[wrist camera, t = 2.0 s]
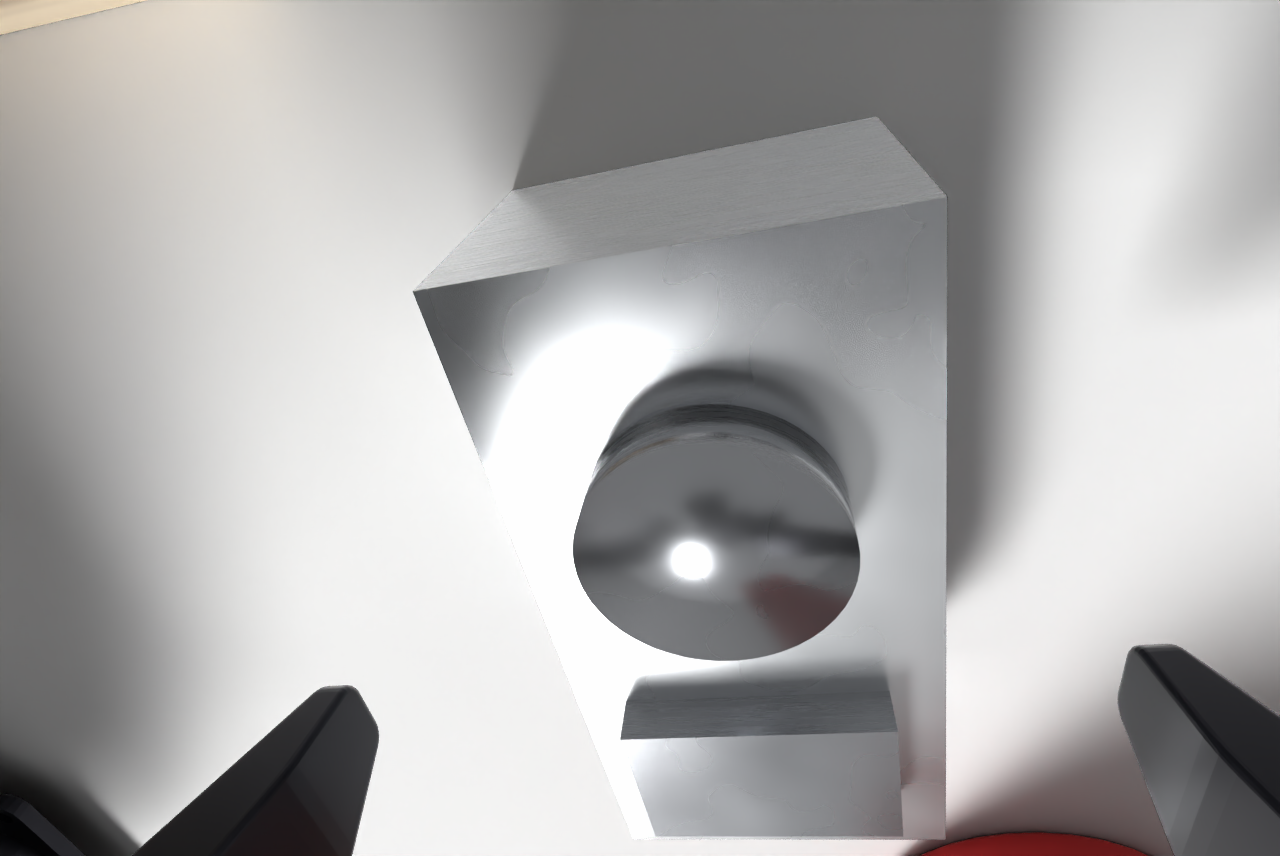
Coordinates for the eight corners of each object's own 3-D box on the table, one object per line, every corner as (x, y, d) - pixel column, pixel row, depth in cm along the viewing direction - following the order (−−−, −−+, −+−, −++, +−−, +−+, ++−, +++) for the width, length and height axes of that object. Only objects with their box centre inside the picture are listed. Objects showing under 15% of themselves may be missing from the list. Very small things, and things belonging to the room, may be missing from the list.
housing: (898, 637, 15) (958, 895, 11) (656, 651, 16) (626, 889, 12) (874, 113, 9) (973, 226, 5) (516, 185, 10) (379, 324, 6)
